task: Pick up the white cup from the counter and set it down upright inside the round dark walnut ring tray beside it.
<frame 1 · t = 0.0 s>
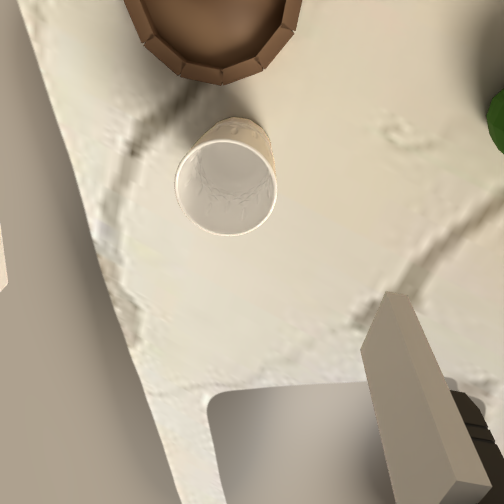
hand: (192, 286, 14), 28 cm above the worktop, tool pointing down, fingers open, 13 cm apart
white cup: (237, 151, 41), on the worktop
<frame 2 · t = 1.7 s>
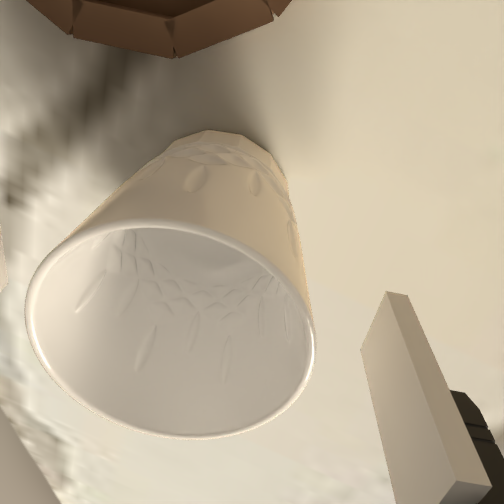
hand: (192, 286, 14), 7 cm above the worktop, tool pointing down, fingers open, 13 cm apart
white cup: (219, 198, 20), on the worktop
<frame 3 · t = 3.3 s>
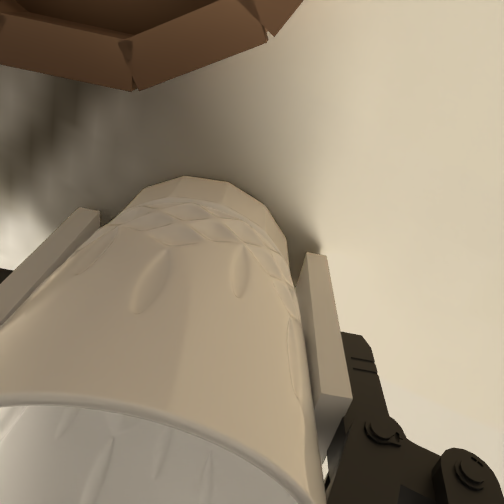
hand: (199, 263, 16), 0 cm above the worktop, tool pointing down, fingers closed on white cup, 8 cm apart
white cup: (201, 255, 16), on the worktop, touching gripper
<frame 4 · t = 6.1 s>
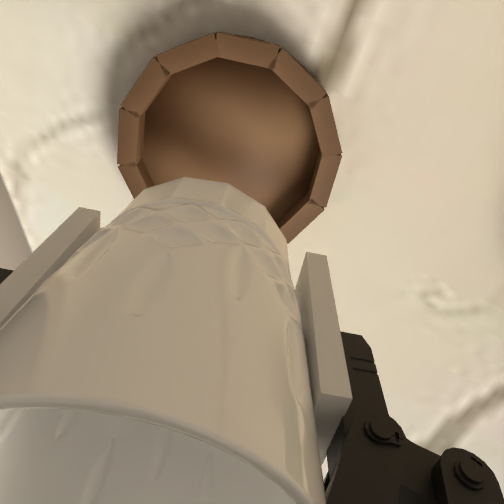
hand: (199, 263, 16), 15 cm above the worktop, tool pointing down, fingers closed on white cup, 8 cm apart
ring tray: (230, 150, 28), on the worktop
white cup: (201, 256, 16), point 14 cm above the worktop, touching gripper
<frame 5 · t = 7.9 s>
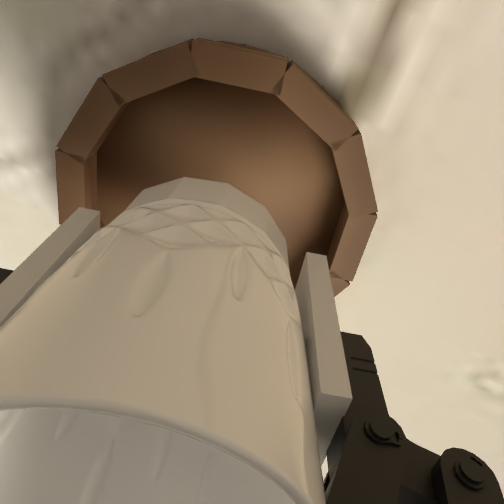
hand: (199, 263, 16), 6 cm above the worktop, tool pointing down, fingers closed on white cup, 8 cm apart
ring tray: (219, 200, 20), on the worktop
white cup: (201, 256, 16), point 5 cm above the worktop, touching gripper
when the fingers open (3 cm above the worktop, at t = 9.3 s): white cup drops 1 cm, resting on ring tray.
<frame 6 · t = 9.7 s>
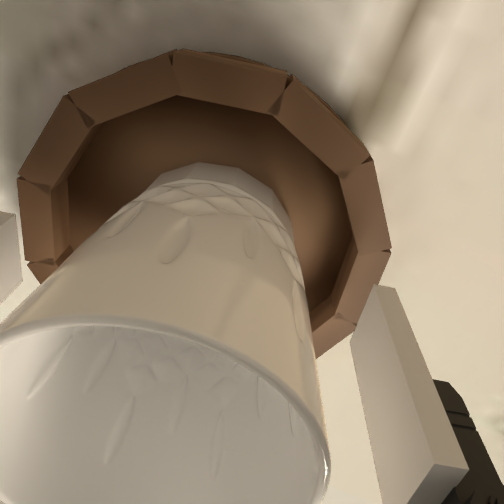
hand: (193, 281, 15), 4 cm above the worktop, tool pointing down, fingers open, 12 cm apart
ring tray: (209, 230, 18), on the worktop
white cup: (213, 237, 17), point 1 cm above the worktop, touching ring tray
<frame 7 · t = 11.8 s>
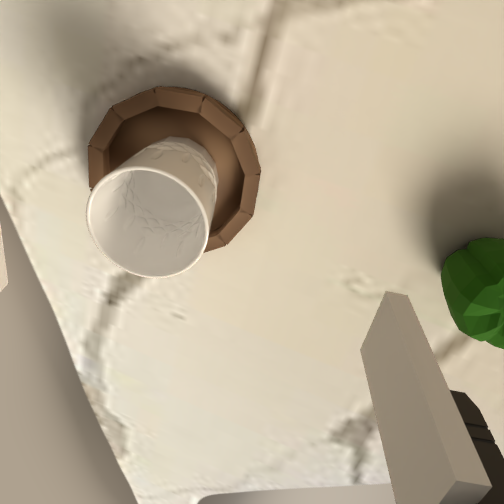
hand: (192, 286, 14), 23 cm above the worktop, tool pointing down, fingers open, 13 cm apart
ring tray: (178, 172, 36), on the worktop
bell pepper: (473, 263, 39), on the worktop
white cup: (179, 174, 36), point 1 cm above the worktop, touching ring tray
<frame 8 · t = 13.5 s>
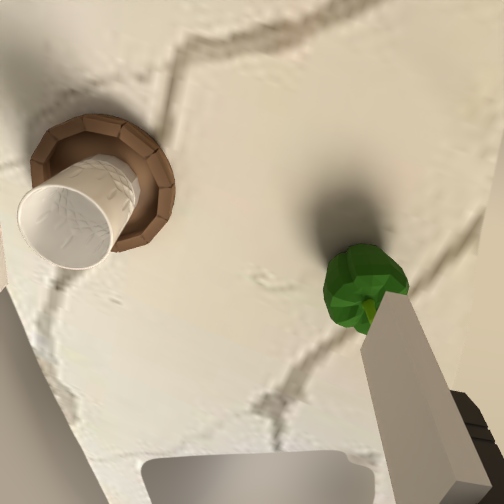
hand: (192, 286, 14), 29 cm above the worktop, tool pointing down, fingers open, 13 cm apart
ring tray: (109, 182, 44), on the worktop
bell pepper: (356, 264, 47), on the worktop
white cup: (109, 184, 43), point 1 cm above the worktop, touching ring tray
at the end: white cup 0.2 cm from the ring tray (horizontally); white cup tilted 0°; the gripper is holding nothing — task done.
